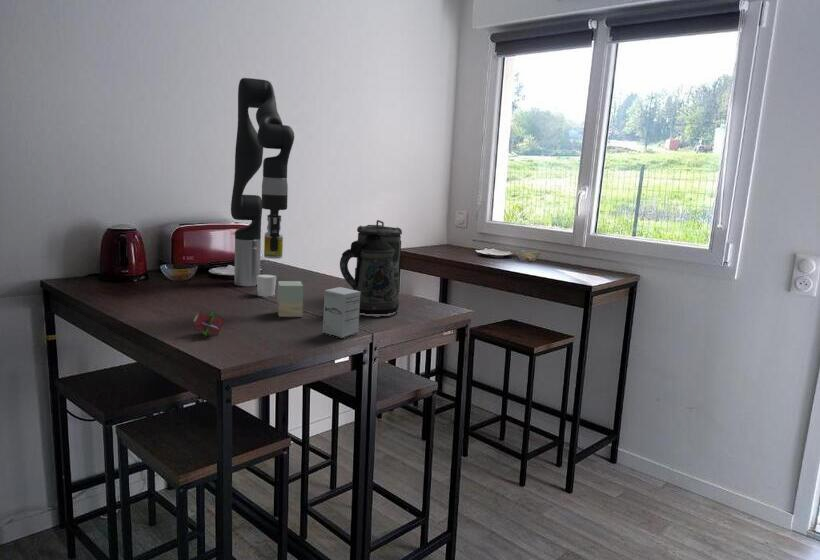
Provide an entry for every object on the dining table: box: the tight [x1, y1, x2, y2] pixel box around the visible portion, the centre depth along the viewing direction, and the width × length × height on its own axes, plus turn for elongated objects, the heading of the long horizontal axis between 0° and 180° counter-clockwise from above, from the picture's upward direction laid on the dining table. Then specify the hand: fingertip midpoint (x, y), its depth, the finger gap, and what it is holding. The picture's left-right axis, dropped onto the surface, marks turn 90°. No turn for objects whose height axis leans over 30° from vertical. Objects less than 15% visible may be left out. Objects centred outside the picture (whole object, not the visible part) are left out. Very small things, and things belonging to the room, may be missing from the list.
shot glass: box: [256, 273, 277, 298], centre depth 210 cm, size 7×7×7 cm
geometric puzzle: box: [193, 309, 225, 338], centre depth 160 cm, size 7×7×8 cm
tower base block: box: [276, 299, 304, 317], centre depth 186 cm, size 7×7×5 cm
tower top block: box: [277, 280, 304, 303], centre depth 186 cm, size 7×7×5 cm
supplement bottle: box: [263, 224, 284, 260], centre depth 183 cm, size 5×5×10 cm
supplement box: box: [322, 286, 361, 337], centre depth 168 cm, size 7×7×13 cm
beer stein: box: [339, 235, 400, 314], centre depth 195 cm, size 16×19×25 cm
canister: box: [354, 219, 403, 298], centre depth 214 cm, size 16×16×28 cm
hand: (273, 249), depth 184 cm, fingers closed on supplement bottle, 5 cm apart
